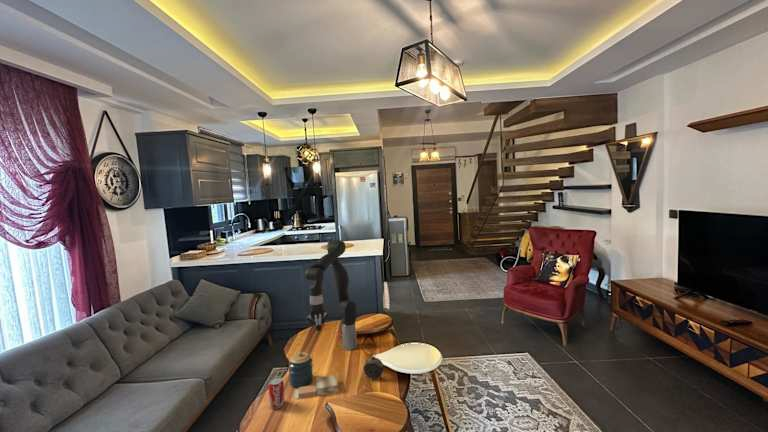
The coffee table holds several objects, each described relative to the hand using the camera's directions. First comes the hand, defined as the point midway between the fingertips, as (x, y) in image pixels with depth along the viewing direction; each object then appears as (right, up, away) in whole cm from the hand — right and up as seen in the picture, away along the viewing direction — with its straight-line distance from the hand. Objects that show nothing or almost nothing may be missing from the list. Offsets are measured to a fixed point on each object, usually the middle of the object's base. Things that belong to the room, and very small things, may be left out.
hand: (318, 330), depth 186 cm
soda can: (-16, -29, -25) cm, 41 cm away
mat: (-4, -28, -15) cm, 32 cm away
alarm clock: (+32, -26, -5) cm, 42 cm away
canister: (-9, -27, -5) cm, 29 cm away
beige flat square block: (+7, -27, -12) cm, 31 cm away
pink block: (-3, -27, -16) cm, 32 cm away
